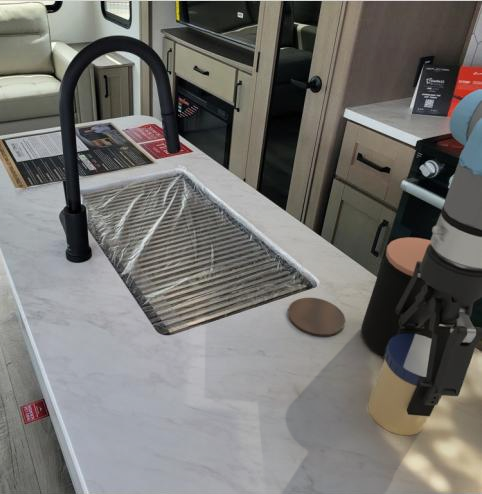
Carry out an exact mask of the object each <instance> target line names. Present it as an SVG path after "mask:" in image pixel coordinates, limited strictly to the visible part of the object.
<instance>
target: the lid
mask: <svg viewBox="0 0 482 494" xmlns="http://www.w3.org/2000/svg"><path fill="white" fill-rule="evenodd" d="M431 340H432V339H430V338H428V337H425V336H422V335H418V334H412V333H403V334H399V335H396V336H394V337H393V338H391V339H390V341H389V343H388V344H387V346H386V349H385V354H384V355H385V357H384V359H385V361H386V363H387V365H388V366H389V368H390V369H391V370H392V371H393V372H394V373H395V374H396V375H397V376H399V377H400V378H401V379H403V380H405V381H407V382H409V383H411V384H414V385H418V383H419V379H420V378H421V377H426V374H427V367H428V361H429V354H430V347H431Z"/></svg>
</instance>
